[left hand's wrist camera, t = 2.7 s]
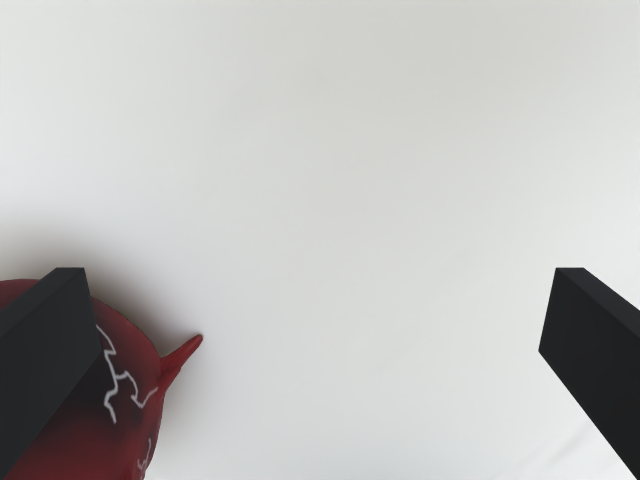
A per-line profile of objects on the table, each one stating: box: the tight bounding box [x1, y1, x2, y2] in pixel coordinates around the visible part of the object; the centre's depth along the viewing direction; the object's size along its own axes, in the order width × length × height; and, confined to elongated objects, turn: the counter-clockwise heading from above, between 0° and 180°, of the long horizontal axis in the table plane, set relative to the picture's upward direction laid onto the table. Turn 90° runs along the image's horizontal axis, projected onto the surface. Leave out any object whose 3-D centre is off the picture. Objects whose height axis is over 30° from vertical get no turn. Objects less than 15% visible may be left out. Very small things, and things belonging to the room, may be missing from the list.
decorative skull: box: [0, 279, 203, 480], centre depth 38 cm, size 21×24×25 cm
